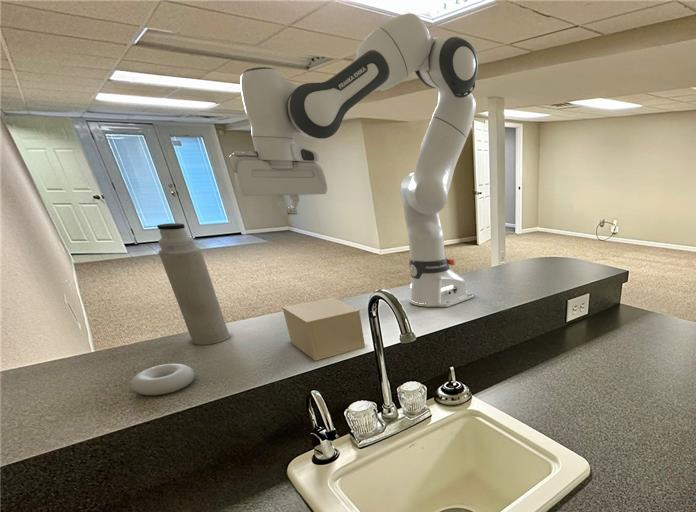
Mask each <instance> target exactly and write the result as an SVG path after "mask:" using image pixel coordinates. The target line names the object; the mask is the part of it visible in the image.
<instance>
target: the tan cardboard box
mask: <svg viewBox="0 0 696 512" xmlns="http://www.w3.org/2000/svg"><path fill="white" fill-rule="evenodd" d="M282 312H283V315H284V319H285V323H286V328H287V331H288V334H289V340H290V343H291V345H293V346H294V347H296V348H298V349H299V350H300V351H301V352H302V353H304V354H305V355H306V356H308V357H310V358H311V359H312V360H314V361H315V362H317V361H320V360H323V359H327V358H331V357H334V356H337V355H340V354H345V353H348V352H351V351H355V350H357V349H361V348H365V347H366V343H365V338H364V332H363V331H364V330H363V325H362V320H361V313H360V310H359V309H357V308H355V307H353V306H351V305H349V304H347V303H344V302H342V301H341V300H339V299H337V298H334V297H328V298H322V299H317V300H313V301H306V302H302V303H297V304H291V305H287V306H282Z"/></svg>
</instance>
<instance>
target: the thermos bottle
mask: <svg viewBox="0 0 696 512" xmlns="http://www.w3.org/2000/svg"><path fill="white" fill-rule="evenodd" d="M156 226H157V229H158V230H159V234H160V237H161V238H159V239H158V241H157V242H158V244H159V245H158V246H159V247H160V249H159V250H158V255H159V258H160V260H161V263H162V266H163V268H164V271H165V273H166V276H167V278H168V282H169V284H170V286H171V289H172V292H173V294H174V297H175V299H176V302H177V305H178V307H179V310H180V313H181V315H182V317H183V320H184V323H185V326H186V328H187V331H188V333H189V336H190V339H191V341H192V343H193V344H195V345H201V346H202V345H203V346H204V345H213V344H217V343H221V342H223V341H226V340H227V339H229V338H230V333H229V330H228V326H227V324H226V320H225V318H224V314H223V312H222V308H221V306H220V303H219V301H218V297H217V293H216V290H215V288H214V285H213V284H214V283H213V281H212V278H211V275H210V272H209V269H208V267H207V263H206V261H205V258H204V254H203V252H202V248H201V247H198V246H197V244H196V241H195V238H193V237H191V236H189V234H188V231H187V230H186V229H185V228H186V226H185V224H184V223H177V222H176V223H172V222H171V223H170V222H169V223H162V224H161V223H160V224H157V225H156Z"/></svg>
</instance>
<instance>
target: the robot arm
mask: <svg viewBox="0 0 696 512" xmlns="http://www.w3.org/2000/svg"><path fill="white" fill-rule="evenodd" d="M478 69H479V60H478V55H477V51H476V49H475V48H474V47H473V45H472V44H471V43H470V41H468V40H466V39H465V38H462V37H458V36H438V37H432V35H431V34H430V31H429V29H428V27H427V25H426V24H425V22H424V21H423V20H422V18H420V16H418V15H416V14H414V13H410V12H408V13H404V14H401V15H399V16H396V17H394V18H392V19H390V20H388V21H386V22H384V23H382V24H381V25H380V26H378V27H377V28H375V29H373V30H372V32H370V33H369V34H368V35H367V36H366V37H365V38H364V39H363V40H362V41H361V43H360V44H359V45H358V47H357V48H356V56H355V57H354V59H353V60H352V62H351V63H349V64H348V65H347V66H346V67H344V68H342V69H341V70H340V71H338V72H337V73H335V75H333V76H331V77H330V78H328V79H327V80H325V81H323V82H306V83H302V84H301V85H298V84H296V83H294V82H293V81H291V80H290V79H288V78H286V77H285V76H283V75H282V74H281V73H279V71H278V70H277V69H275V68H272V67H269V66H267V67H266V66H258V67H252V68H248V69H246V70H245V71H244V72H243V73H242V74H241V75H240V81H239V82H240V92H241V97H242V102H243V106H244V111H245V115H246V117H247V119H248V121H249V124H250V128H251V131H250V132H251V133H250V134H251V135H250V136H251V138H252V139H251V140H252V143H253V147H254V151H250V150H249V151H241V150H235V151H234V152H233V153H231V154H229V157H228V162H229V164H230V169H231V170H232V171H233V172H234V179H235V187H236V191H237V192H238V193H239V194H240V195H241V196H243V197H271V196H272V197H274V201H275V203H277V205H278V206H279V207H280V208H281V212H282V214H283V216H297V215H298V209H297V208H298V205H299V202H300V196H307V195H308V196H311V195H326V194H327V192H328V184H327V180H326V176H325V172H324V169H323V167H322V166H321V164H319V163H318V162H319V154H318V153H317V152H316V151H314V150H311V149H308V148H306V147H303V146H300V145H298V144H296V141H295V134H296V135H299V136H302V137H304V138H307V139H319V140H323V139H328V138H331V137H333V136H334V135H335V134H336V133H337V132H338V130H339V129H340V127H341V125H342V122H343V120H344V117H345V116H346V114H347V112H348V111H349V110H351V108H353V107H355V105H357V104H359V103H360V102H361V101H362V100H363V99H365V98H366V97H368V96H369V95H370V94H372V93H373V92H376V91H381V92H383V91H386V90H389V89H391V88H393V87H395V86H397V85H399V84H400V83H402V82H403V81H405V80H406V79H408V78H409V77H411V75H412V74H414V73H415V75H416V76H417V78H418V79H419V80H420V82H422V83H423V84H424V85H426V87H428V88H432V89H437V93H438V95H437V96H438V97H437V104H436V107H435V109H434V112H433V114H432V116H431V119H430V121H429V124H428V126H427V128H426V131H425V134H424V136H423V139H422V142H421V144H420V149H419V153H418V158H417V162H416V165H415V169H414V172H411V173H409V174H407V175H406V176H405V177H404V178H403V180H402V181H401V185H400V195H401V203H402V207H403V215H404V220H405V225H406V230H407V237H408V247H409V248H408V249H409V257H410V258H409V259H408V260H409V261H408V262H409V263H408V264H409V272H410V277H411V283H410V297H409V301H408V302H409V303H410V304H412V305H414V306H418V307H426V308H427V307H439V308H448V307H451V306H454V305H457V304H459V303H462V302H465V301H467V300H470V299H473V298H474V294H473V295H472V296H469V297H466V298H464V299H461V300H460V298H458V297H460V296H462V295H465V294H467V291H468V290H467V289H468V288H467V284H466V280H465V279H464V278H463V277H462V276H460V275H459V274H458V273H456V272H455V271H454V270H452V269H451V267H450V266H455V264H456V260H455V259H454V258H446V257H445V255H446V254H445V240H444V239H445V238H444V237H445V236H444V231H443V227H442V224H441V223H442V222H441V219H440V214H439V213H440V212H441V211H442V210H444V208H446V205H447V203H448V197H449V196H448V195H449V192H450V188H451V185H452V181H453V177H454V172H455V169H456V166H457V163H458V161H459V158H460V156H461V154H462V151H463V149H464V146H465V144H466V142H467V139H468V137H469V135H470V131H471V129H472V125H473V122H474V118H475V114H476V110H477V103H476V102H477V101H476V99H475V97H474V96H473V94H472V93H473V91H474V89H475V88H476V79H477V76H478ZM284 196H289V199H290V200H292V201H291V204H290V206H286V204H285V203H284V202H283V201H284ZM468 294H470V293H468ZM410 298H411V300H413V301H415V302H418V303H415V302H412V301H411V300H410ZM419 303H424V304H419ZM425 303H426V304H425Z"/></svg>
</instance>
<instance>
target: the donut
mask: <svg viewBox="0 0 696 512" xmlns="http://www.w3.org/2000/svg"><path fill="white" fill-rule="evenodd" d="M194 379H195V372H194V369H192V368H191V367H190V366H188V365H186V364H183V363H166V364H165V363H164V364H160V365H155V366H152V367H149V368H146V369H144V370H142V371H140V372H138V373H137V374H135V375H134V376H133V378H132V379H131V382H130V383H131V388H132V390H133V391H135V392H136V393H138V394H140V395H144V396H159V395H161V396H162V395H166V394H171V393H175V392H177V391H180V390H182V389H184V388H186V387H187V386H189V385H190V384H191V383H192V382H193V381H194Z"/></svg>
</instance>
